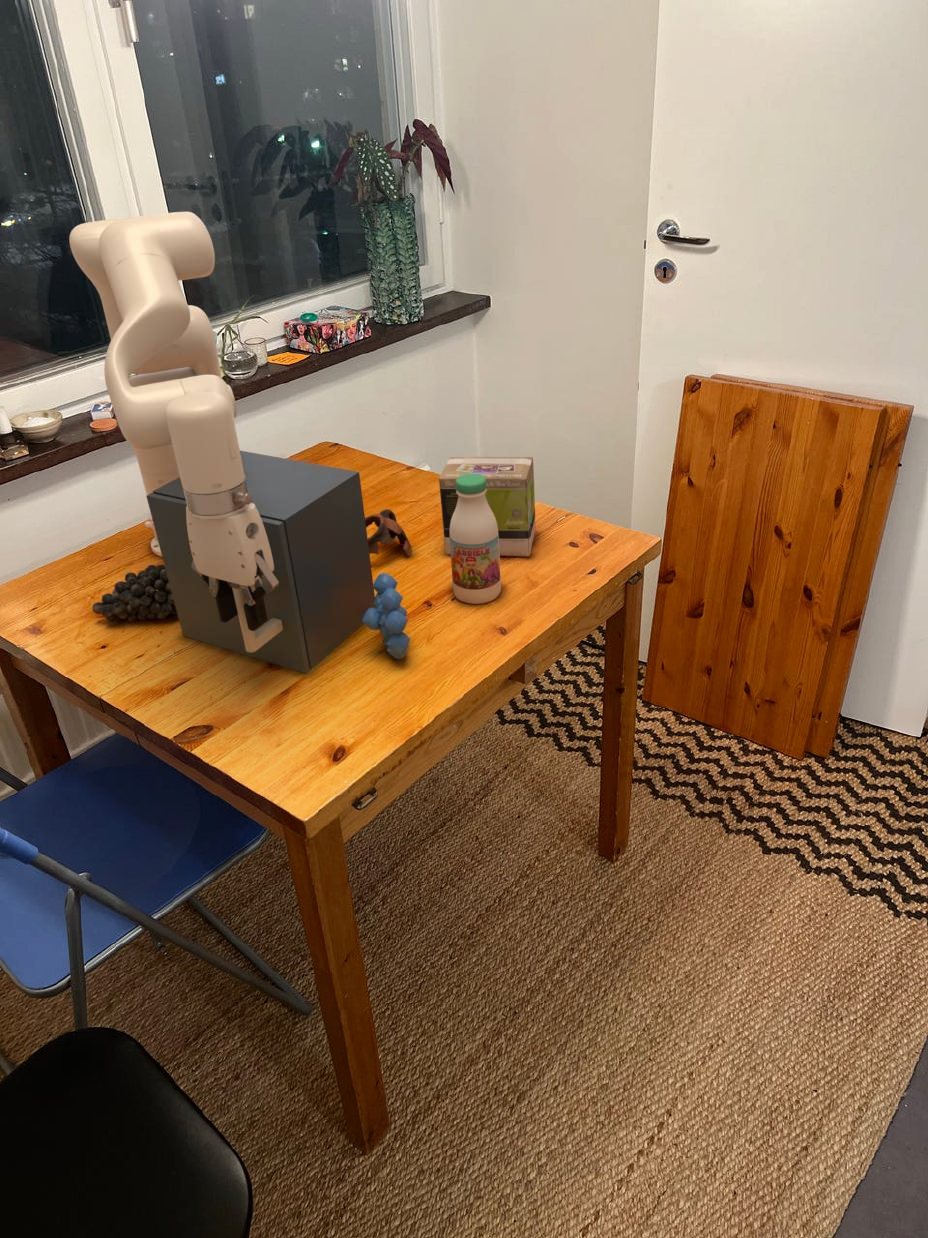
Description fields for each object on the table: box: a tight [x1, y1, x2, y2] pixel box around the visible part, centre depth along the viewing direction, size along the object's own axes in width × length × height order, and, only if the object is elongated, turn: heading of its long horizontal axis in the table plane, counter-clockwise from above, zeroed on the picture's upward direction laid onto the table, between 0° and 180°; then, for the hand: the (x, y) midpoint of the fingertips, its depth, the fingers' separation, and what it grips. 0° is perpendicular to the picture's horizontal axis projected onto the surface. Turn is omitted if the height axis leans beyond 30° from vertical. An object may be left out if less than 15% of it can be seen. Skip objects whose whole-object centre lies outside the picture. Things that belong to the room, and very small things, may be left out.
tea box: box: [438, 456, 536, 557], centre depth 158 cm, size 15×10×15 cm, turn 80°
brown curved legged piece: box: [365, 508, 412, 558], centre depth 161 cm, size 12×10×8 cm
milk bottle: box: [450, 473, 502, 605], centre depth 142 cm, size 8×8×20 cm
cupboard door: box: [145, 493, 311, 675], centre depth 128 cm, size 8×24×24 cm, turn 61°
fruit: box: [91, 564, 177, 623], centre depth 146 cm, size 9×8×15 cm
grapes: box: [362, 573, 411, 660], centre depth 132 cm, size 12×7×12 cm, turn 16°
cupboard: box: [153, 450, 376, 670], centre depth 137 cm, size 17×24×24 cm
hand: (244, 620), depth 122 cm, fingers open, 4 cm apart
